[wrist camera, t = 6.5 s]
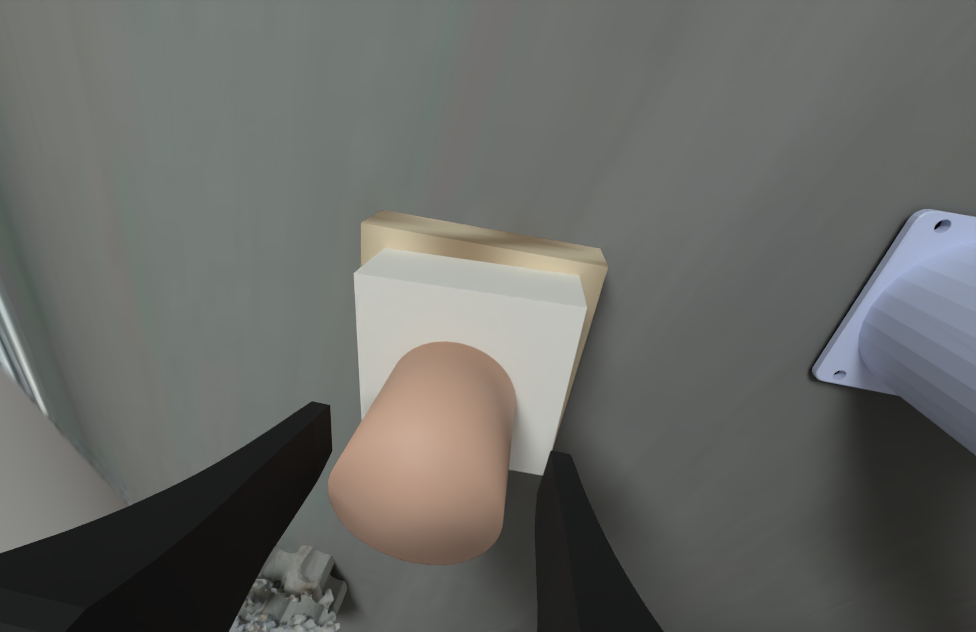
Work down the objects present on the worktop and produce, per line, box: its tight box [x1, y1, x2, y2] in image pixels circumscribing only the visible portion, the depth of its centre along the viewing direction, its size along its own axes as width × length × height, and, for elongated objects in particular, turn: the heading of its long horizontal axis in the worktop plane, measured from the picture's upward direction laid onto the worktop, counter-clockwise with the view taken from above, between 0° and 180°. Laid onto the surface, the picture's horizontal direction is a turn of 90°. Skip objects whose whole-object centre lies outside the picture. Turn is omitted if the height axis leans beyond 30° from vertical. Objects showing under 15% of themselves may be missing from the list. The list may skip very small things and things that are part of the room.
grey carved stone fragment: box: [229, 546, 347, 632], centre depth 31 cm, size 11×8×4 cm
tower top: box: [354, 248, 587, 476], centre depth 16 cm, size 8×8×3 cm
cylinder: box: [328, 341, 516, 565], centre depth 13 cm, size 5×5×5 cm
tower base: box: [361, 210, 608, 451], centre depth 19 cm, size 10×10×3 cm
